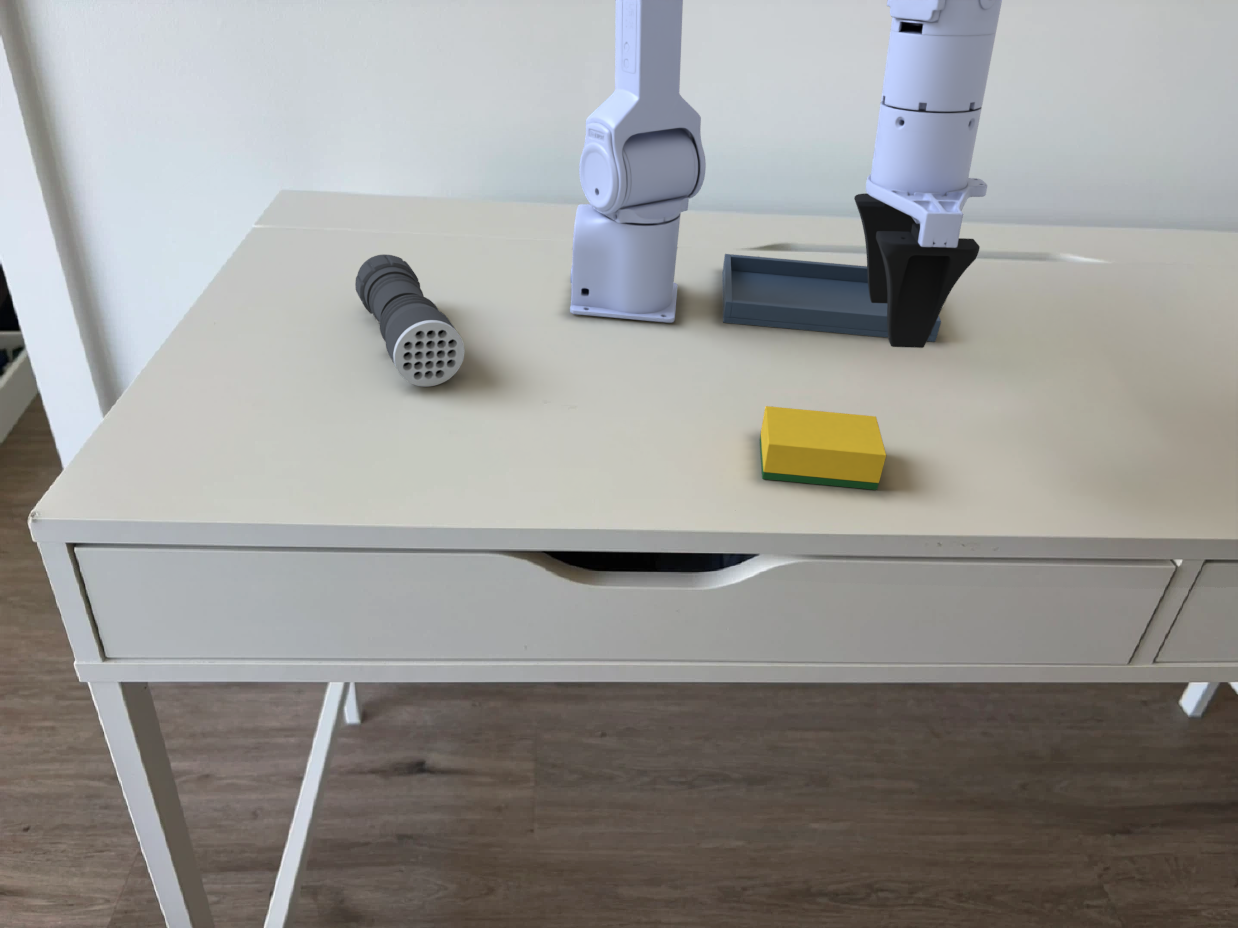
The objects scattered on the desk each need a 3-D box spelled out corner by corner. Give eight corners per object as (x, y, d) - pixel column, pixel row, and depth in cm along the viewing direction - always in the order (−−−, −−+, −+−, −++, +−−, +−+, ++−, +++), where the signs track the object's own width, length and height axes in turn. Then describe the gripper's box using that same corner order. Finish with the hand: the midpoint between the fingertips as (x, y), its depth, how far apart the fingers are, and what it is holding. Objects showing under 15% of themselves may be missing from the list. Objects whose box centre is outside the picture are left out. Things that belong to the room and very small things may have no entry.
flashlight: (353, 308, 82) (347, 251, 79) (413, 300, 85) (409, 243, 81) (397, 392, 71) (392, 328, 68) (465, 380, 73) (463, 317, 70)
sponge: (762, 479, 65) (768, 443, 63) (759, 439, 69) (765, 405, 67) (877, 490, 64) (886, 455, 63) (867, 450, 69) (876, 415, 67)
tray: (722, 322, 84) (725, 301, 83) (722, 273, 94) (724, 253, 92) (935, 342, 84) (941, 321, 82) (913, 290, 93) (919, 270, 92)
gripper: (1039, 129, 48) (986, 370, 55) (969, 86, 60) (933, 286, 67) (900, 127, 48) (865, 366, 55) (859, 84, 61) (835, 283, 68)
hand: (895, 322), depth 61 cm, fingers open, 7 cm apart
